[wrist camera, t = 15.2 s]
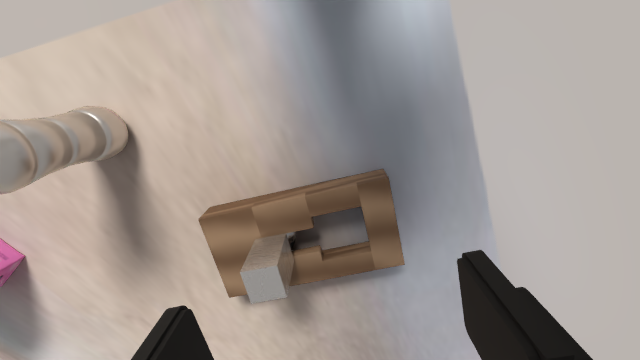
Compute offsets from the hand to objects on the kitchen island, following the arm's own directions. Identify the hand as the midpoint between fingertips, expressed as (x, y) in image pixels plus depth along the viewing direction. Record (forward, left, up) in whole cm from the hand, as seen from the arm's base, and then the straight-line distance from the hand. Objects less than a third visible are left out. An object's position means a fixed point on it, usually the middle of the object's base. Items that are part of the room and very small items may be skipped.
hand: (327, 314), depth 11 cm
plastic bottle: (-8, -27, -30) cm, 41 cm away
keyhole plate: (+11, -6, -30) cm, 33 cm away
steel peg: (+11, -10, -30) cm, 34 cm away
